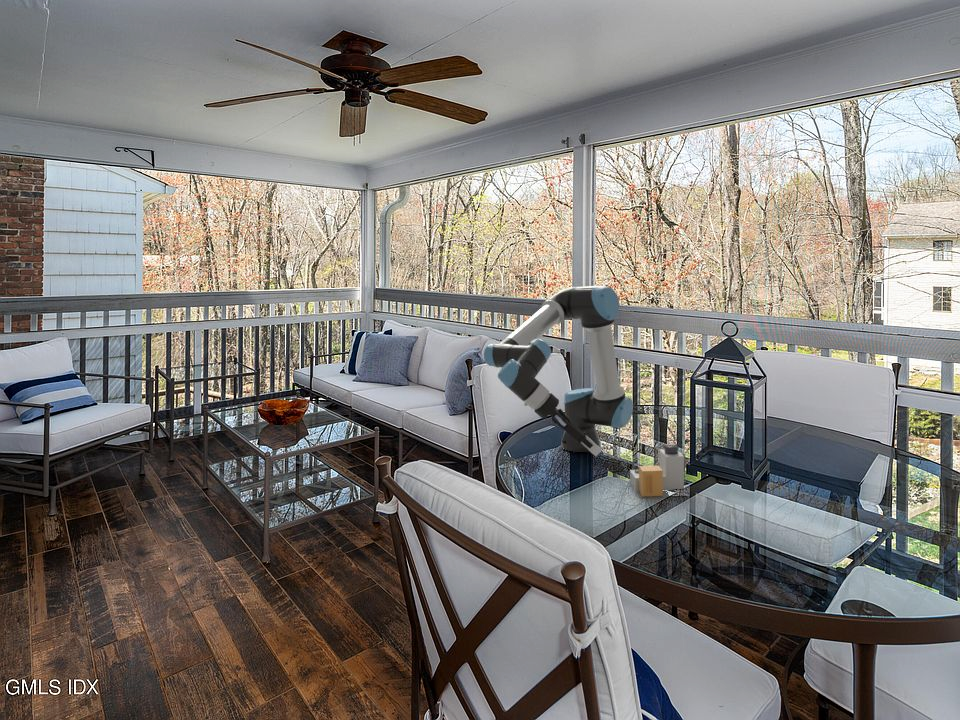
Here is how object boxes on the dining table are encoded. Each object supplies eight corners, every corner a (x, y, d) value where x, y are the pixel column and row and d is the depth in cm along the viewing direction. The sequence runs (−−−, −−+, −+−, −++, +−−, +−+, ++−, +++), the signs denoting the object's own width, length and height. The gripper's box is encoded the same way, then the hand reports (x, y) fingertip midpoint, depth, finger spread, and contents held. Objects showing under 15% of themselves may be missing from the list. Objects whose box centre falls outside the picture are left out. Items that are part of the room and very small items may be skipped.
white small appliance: (639, 498, 173) (639, 457, 171) (629, 483, 185) (629, 444, 183) (689, 496, 173) (689, 455, 171) (676, 481, 185) (676, 442, 183)
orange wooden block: (643, 497, 173) (642, 471, 171) (639, 490, 177) (638, 466, 176) (663, 496, 172) (663, 470, 171) (658, 490, 177) (658, 465, 176)
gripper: (531, 405, 178) (586, 454, 180) (534, 415, 165) (593, 468, 167) (548, 388, 177) (603, 437, 179) (552, 396, 164) (611, 450, 166)
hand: (598, 452), depth 173 cm, fingers closed
